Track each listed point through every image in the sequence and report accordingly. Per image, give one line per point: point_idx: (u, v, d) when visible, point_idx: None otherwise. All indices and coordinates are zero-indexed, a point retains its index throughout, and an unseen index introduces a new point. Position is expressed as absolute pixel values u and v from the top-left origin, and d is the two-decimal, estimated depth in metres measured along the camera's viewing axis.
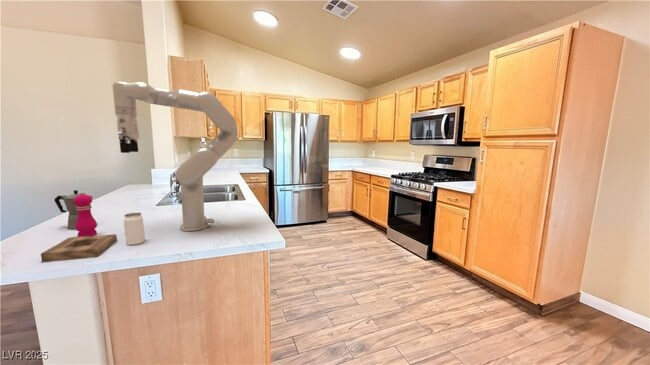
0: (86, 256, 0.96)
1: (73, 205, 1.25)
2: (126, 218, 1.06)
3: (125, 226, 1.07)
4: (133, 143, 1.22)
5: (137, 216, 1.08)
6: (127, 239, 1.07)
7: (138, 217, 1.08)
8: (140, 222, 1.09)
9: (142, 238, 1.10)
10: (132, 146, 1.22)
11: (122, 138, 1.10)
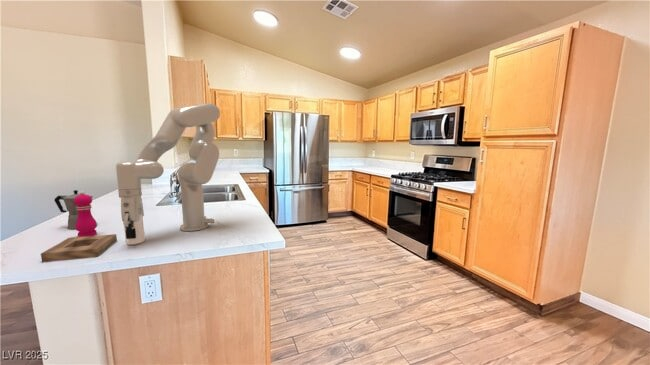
0: (86, 256, 0.96)
1: (73, 205, 1.25)
2: None
3: None
4: None
5: None
6: (126, 239, 1.07)
7: None
8: (140, 222, 1.09)
9: (142, 238, 1.10)
10: None
11: (128, 226, 1.04)
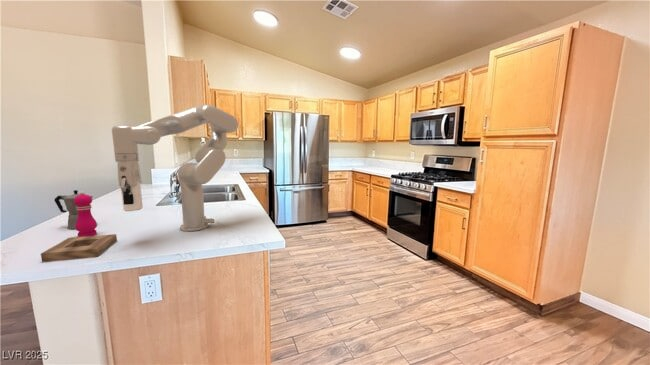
0: (86, 256, 0.96)
1: (73, 205, 1.25)
2: None
3: None
4: None
5: None
6: (124, 205, 1.06)
7: None
8: (137, 188, 1.07)
9: (140, 205, 1.09)
10: None
11: (126, 190, 1.02)
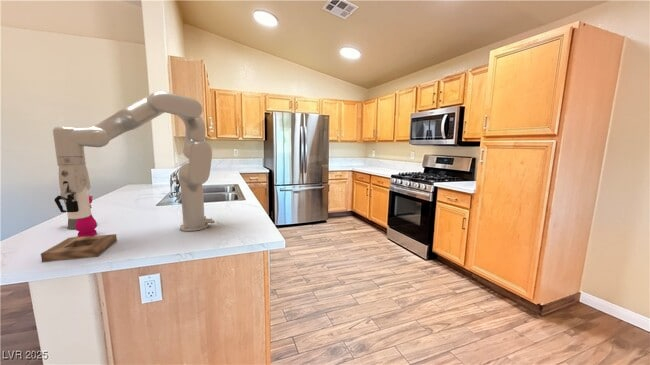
0: (86, 256, 0.96)
1: None
2: None
3: None
4: None
5: None
6: (68, 212, 0.97)
7: None
8: (83, 194, 0.99)
9: (86, 212, 1.00)
10: None
11: (67, 197, 0.94)
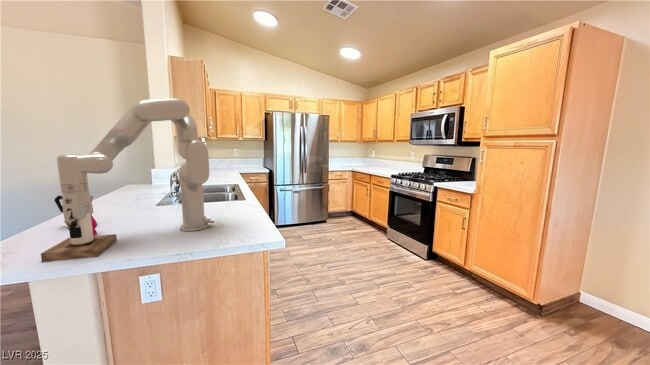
0: (86, 256, 0.96)
1: None
2: None
3: None
4: None
5: None
6: (71, 238, 0.99)
7: None
8: (86, 220, 1.00)
9: (89, 237, 1.01)
10: None
11: (71, 224, 0.95)
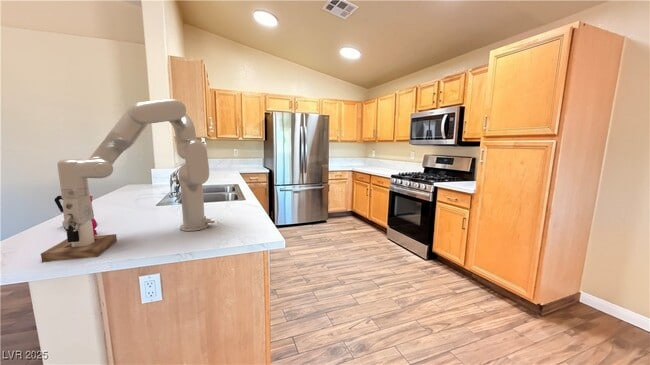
0: (86, 256, 0.96)
1: None
2: None
3: None
4: None
5: None
6: (73, 246, 0.99)
7: (86, 223, 1.00)
8: (88, 228, 1.01)
9: None
10: None
11: (68, 227, 0.93)
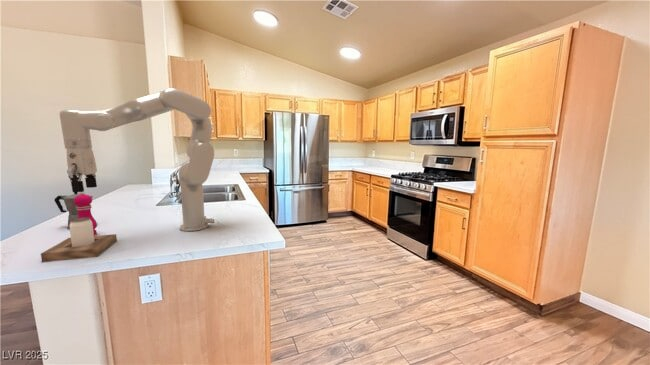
0: (86, 256, 0.96)
1: (73, 205, 1.25)
2: (72, 224, 0.98)
3: (71, 232, 0.99)
4: (90, 178, 1.06)
5: (85, 221, 1.00)
6: (73, 246, 0.99)
7: (86, 223, 1.00)
8: (88, 228, 1.01)
9: None
10: (89, 181, 1.06)
11: (73, 176, 0.94)
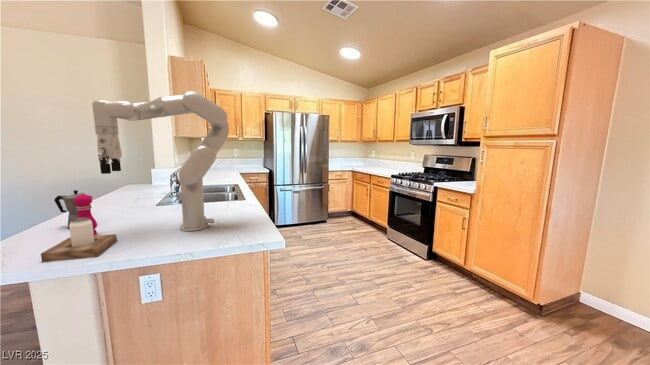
0: (86, 256, 0.96)
1: (73, 205, 1.25)
2: (72, 224, 0.98)
3: (71, 232, 0.99)
4: (115, 162, 1.18)
5: (85, 221, 1.00)
6: (73, 246, 0.99)
7: (86, 223, 1.00)
8: (88, 228, 1.01)
9: None
10: (114, 165, 1.18)
11: (102, 159, 1.06)
